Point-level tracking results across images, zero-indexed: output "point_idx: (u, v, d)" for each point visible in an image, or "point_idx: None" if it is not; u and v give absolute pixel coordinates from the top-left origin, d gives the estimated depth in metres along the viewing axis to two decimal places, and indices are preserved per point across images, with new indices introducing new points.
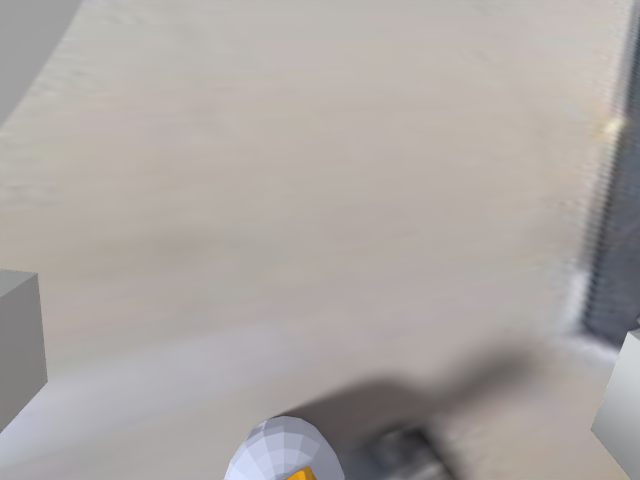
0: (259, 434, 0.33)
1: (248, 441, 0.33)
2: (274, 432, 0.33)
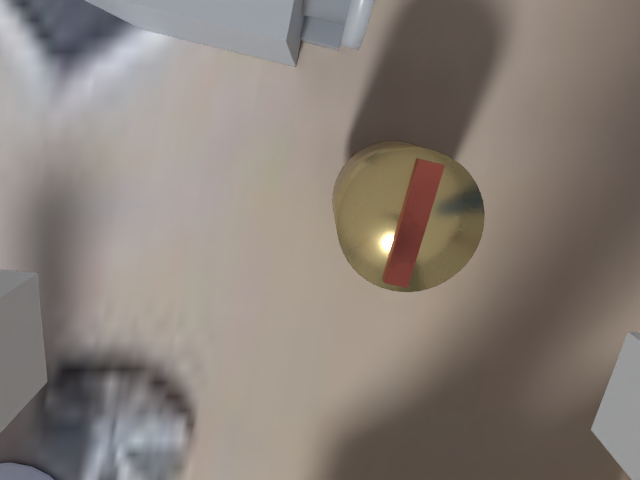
0: None
1: None
2: None
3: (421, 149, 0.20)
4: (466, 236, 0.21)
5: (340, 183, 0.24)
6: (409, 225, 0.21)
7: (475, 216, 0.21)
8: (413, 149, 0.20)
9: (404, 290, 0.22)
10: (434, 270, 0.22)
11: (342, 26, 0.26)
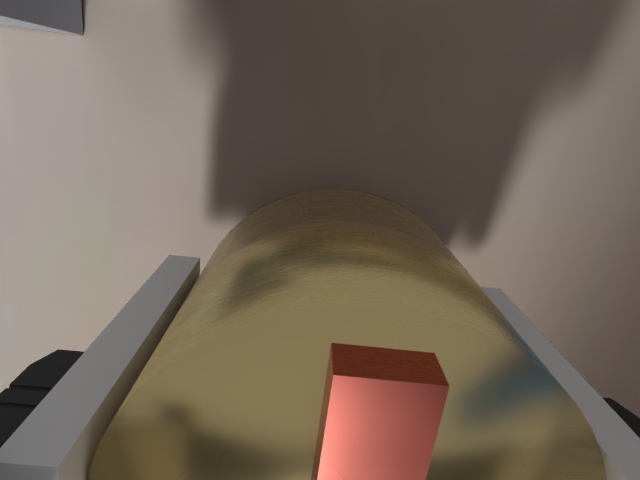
0: None
1: None
2: None
3: (347, 312, 0.05)
4: None
5: None
6: None
7: None
8: (314, 315, 0.05)
9: None
10: None
11: None
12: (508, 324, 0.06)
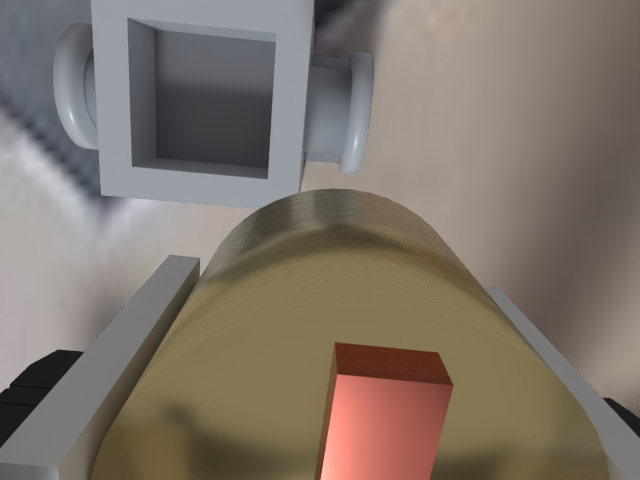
0: None
1: None
2: None
3: (350, 311, 0.05)
4: None
5: None
6: None
7: None
8: (317, 314, 0.05)
9: None
10: None
11: None
12: (511, 324, 0.06)
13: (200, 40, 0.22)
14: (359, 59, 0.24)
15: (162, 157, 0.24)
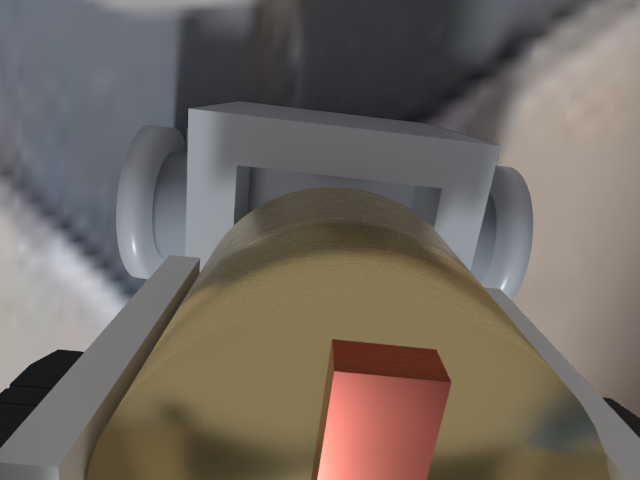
0: None
1: None
2: None
3: (347, 308, 0.05)
4: None
5: None
6: None
7: None
8: (314, 311, 0.05)
9: None
10: None
11: None
12: (510, 321, 0.06)
13: None
14: (509, 186, 0.18)
15: None
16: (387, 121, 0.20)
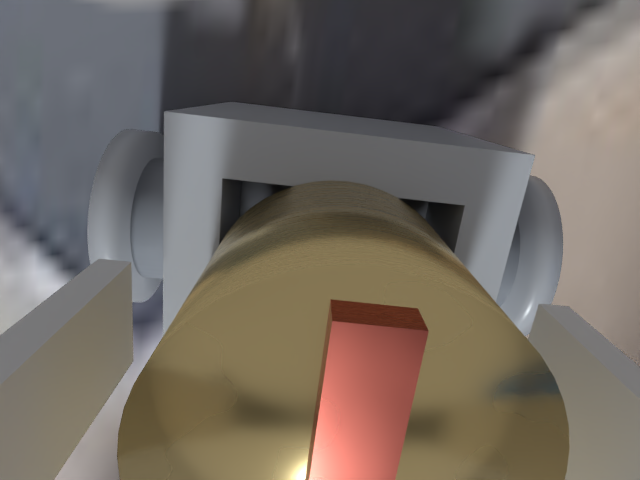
0: None
1: None
2: None
3: (343, 272, 0.06)
4: None
5: None
6: None
7: (542, 439, 0.07)
8: (316, 275, 0.06)
9: None
10: None
11: None
12: (484, 291, 0.07)
13: None
14: (535, 198, 0.16)
15: None
16: (396, 124, 0.18)
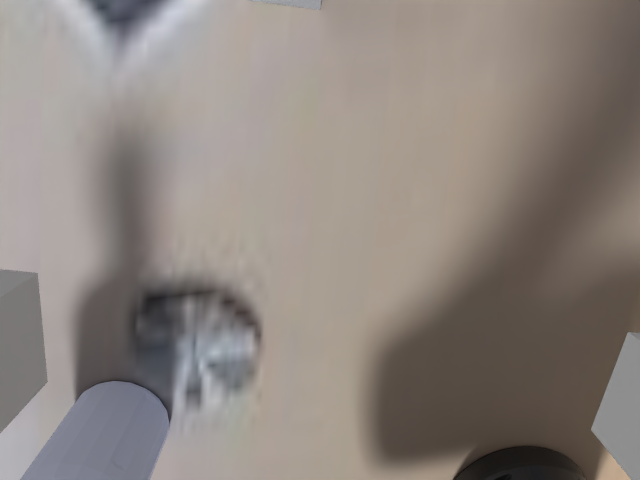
0: None
1: None
2: None
3: None
4: None
5: None
6: None
7: None
8: None
9: None
10: None
11: None
12: None
13: None
14: None
15: None
16: None
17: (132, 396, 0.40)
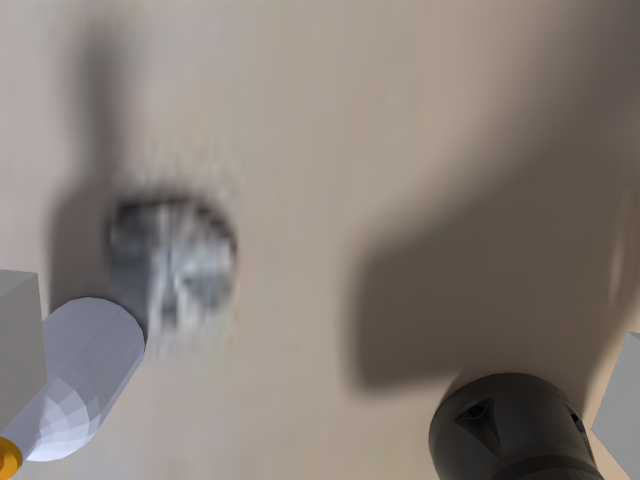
0: None
1: None
2: None
3: None
4: None
5: None
6: None
7: None
8: None
9: None
10: None
11: None
12: None
13: None
14: None
15: None
16: None
17: (105, 309, 0.39)
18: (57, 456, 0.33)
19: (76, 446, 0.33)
